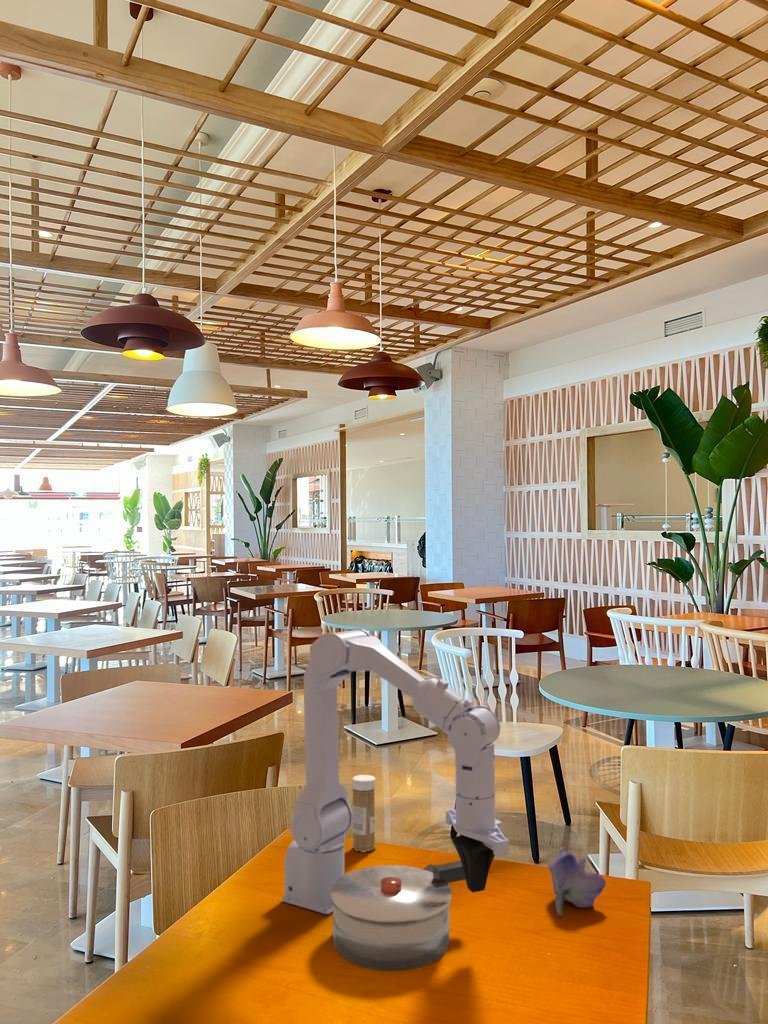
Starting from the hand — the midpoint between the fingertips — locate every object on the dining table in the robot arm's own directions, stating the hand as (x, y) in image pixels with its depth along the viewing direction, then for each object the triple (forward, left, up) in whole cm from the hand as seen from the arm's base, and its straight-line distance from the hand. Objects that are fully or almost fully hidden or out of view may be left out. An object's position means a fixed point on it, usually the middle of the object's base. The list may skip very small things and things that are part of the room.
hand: (476, 889), depth 108 cm
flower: (+8, +19, -8) cm, 22 cm away
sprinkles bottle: (-33, +22, -8) cm, 41 cm away
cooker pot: (-11, -2, -8) cm, 14 cm away
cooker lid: (-10, -3, -2) cm, 11 cm away
